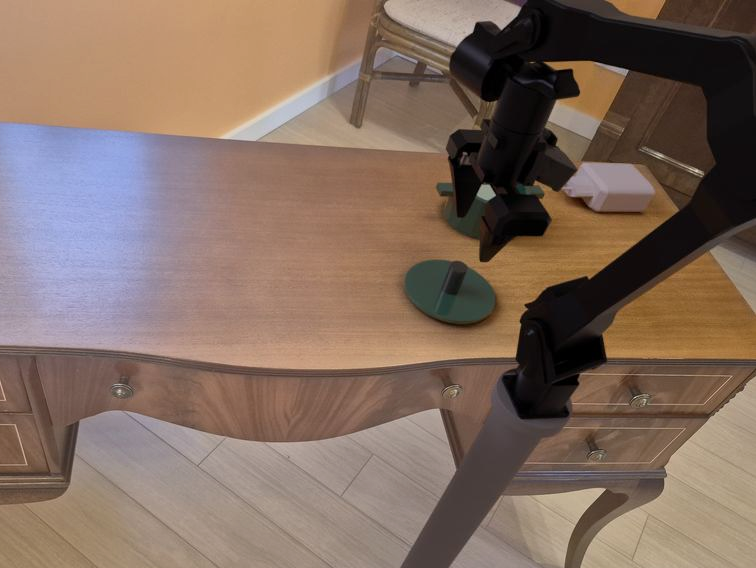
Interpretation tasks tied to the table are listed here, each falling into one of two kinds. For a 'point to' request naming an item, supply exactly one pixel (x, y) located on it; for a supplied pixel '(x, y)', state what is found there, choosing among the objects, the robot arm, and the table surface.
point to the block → (486, 192)
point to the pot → (474, 208)
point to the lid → (449, 291)
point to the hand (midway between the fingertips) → (471, 238)
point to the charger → (610, 187)
